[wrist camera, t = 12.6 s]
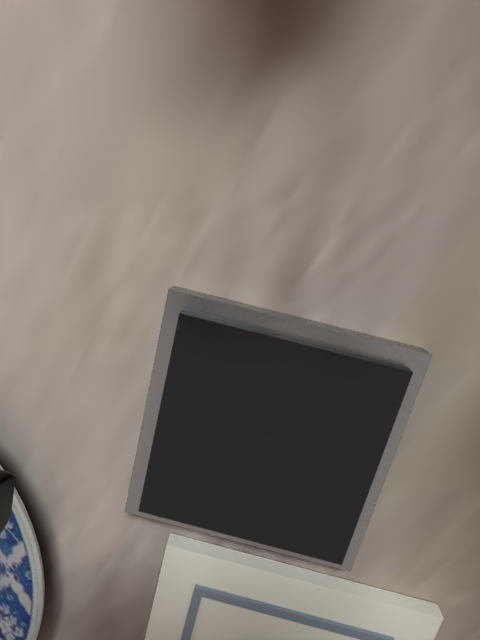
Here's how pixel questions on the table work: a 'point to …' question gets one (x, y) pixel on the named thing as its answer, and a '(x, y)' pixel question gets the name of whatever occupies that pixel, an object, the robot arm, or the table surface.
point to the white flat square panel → (273, 601)
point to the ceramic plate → (20, 577)
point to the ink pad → (270, 427)
